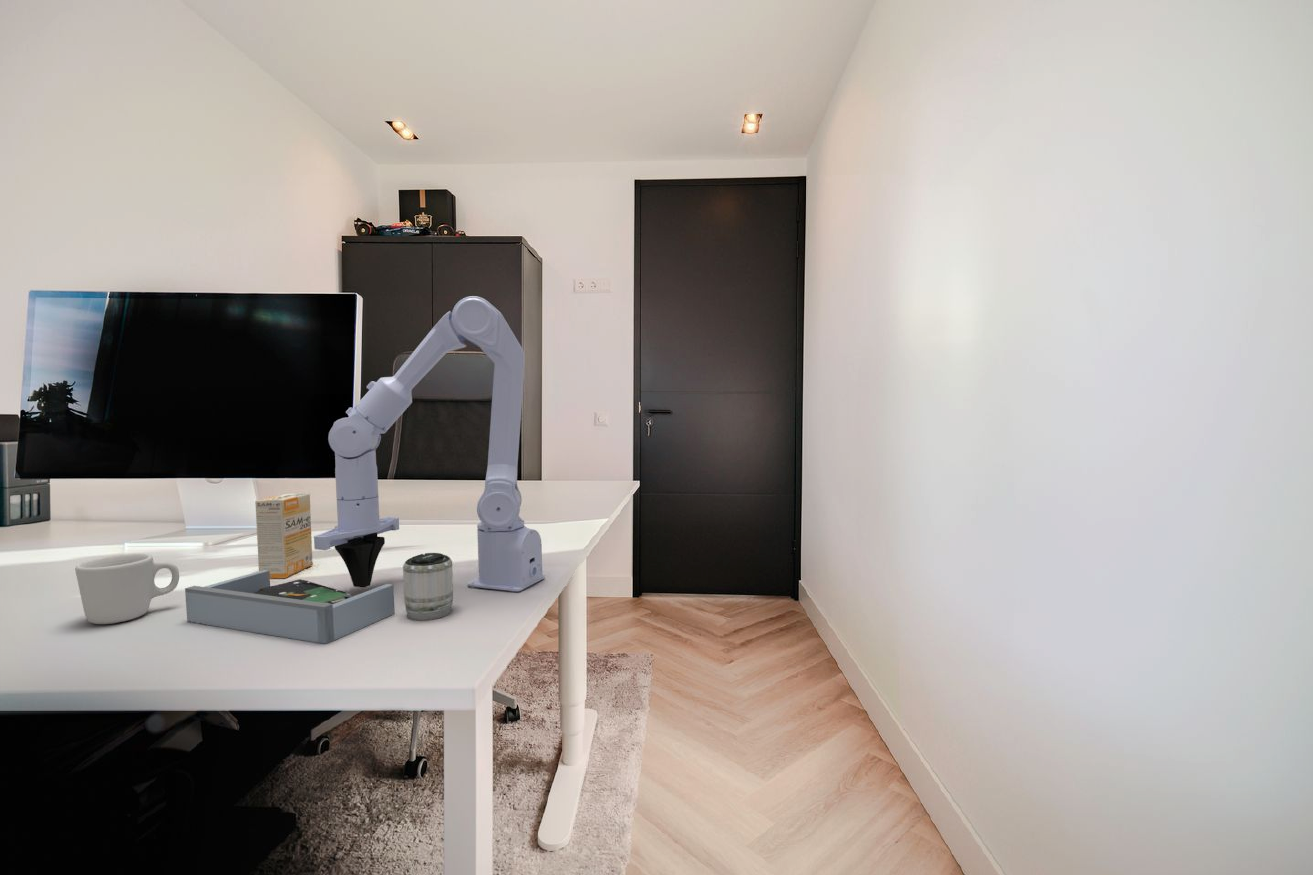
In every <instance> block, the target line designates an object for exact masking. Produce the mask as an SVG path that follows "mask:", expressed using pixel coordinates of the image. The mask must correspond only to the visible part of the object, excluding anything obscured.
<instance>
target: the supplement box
mask: <svg viewBox="0 0 1313 875" xmlns="http://www.w3.org/2000/svg"><path fill="white" fill-rule="evenodd" d="M310 494H311V493H308V492H307V493H305V492H304V493H303V492H300V493H299V492H297V493H296V492H295V493H294V492H293V493H284V494H280V495H275V496H271V497H267V498H263V499H257V500H255V503H254V504H255V519H256V520H255V521H256V539H257V559H258V571H262V570H268V571H270V579H286V578H288V577H290V576H292V575H295V574H297V573H298V572H301V571H302V570H305V569H307V568H309V567H312V566H313V549H312V548H313V542H312V541H313V540H312V538H313V537H312V521H311V519H312V518H311V517H312V515H311V495H310Z"/></svg>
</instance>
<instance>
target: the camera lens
mask: <svg viewBox="0 0 1313 875" xmlns="http://www.w3.org/2000/svg"><path fill="white" fill-rule="evenodd" d="M402 572H403V573H402V574H403V575H402V576H403V577H402V578H403V595H404V597H403V599H404V601H403V603H404V607H405V611H406V613H407V617H408V618H409V619H411V620H416V621H428V620H435V619H439V618H443V617H445V616H447V615H449V614H450V613H451V612H452V606H453V604H454V603H453V602H454V601H453V600H454V584H453V583H454V581H453V580H454V578H453V560H452V559H451V558H450V556H448V555H446V554H443V553H440V552H425V553H420V554H418V555H415V556H412V557H410V558H408V559H406V561H404V563H403V565H402Z"/></svg>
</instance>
